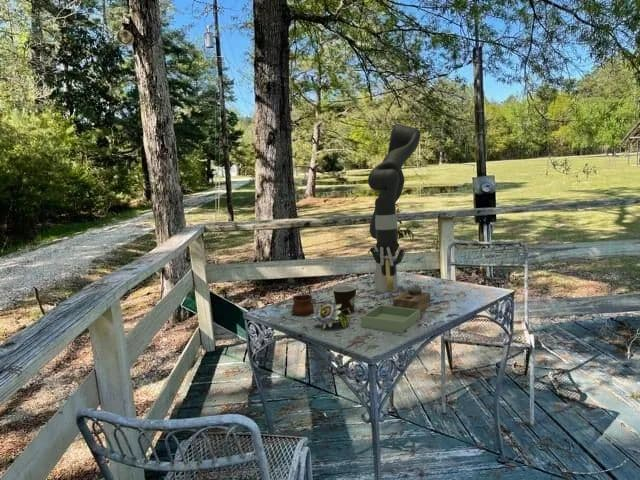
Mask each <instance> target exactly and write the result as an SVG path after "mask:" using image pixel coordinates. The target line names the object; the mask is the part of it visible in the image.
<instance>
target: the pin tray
mask: <svg viewBox="0 0 640 480" xmlns="http://www.w3.org/2000/svg"><path fill="white" fill-rule="evenodd" d="M421 315H422V314H421V313H420V310H418V309H410V308H402V307H394V306H393V305H391V306H390V305H385V304H379V305H377V306H376V307H374V308H373V309H371V310H369V311H367V312H366V313H364V314H363V315H361V316H360V321H361V323H360V324H361V328H365V329H372V330H379V331H384V332H385V331H386V332H391V333H399V334H405V333H406V332H407V330H406V329H408V328H409V327H411V326H412V325H413V324H414V323H416V322H417V321H418V320H420V319H421V318H422V316H421Z"/></svg>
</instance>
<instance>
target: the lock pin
mask: <svg viewBox="0 0 640 480" xmlns="http://www.w3.org/2000/svg"><path fill="white" fill-rule="evenodd" d="M390 266H391V265H390V260H389V258H385V273H386V289H387V290H392V289H393V276H391V275H390Z"/></svg>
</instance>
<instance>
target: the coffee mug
mask: <svg viewBox="0 0 640 480" xmlns="http://www.w3.org/2000/svg"><path fill="white" fill-rule="evenodd" d="M332 291H333V297H334V303H335V305H337V304H341V307H340V308H339V309H338V310H339V311H341V312H342V313H343V314H345V315H346V316H348V314H349V311H350V312H351V313H354V311H355V298H356V295H357V294H356V293H357V289H356V287H355V286H351V285H340V286H336V287H333V288H332ZM346 308H348V309H349V311H348V310H347V309H346ZM344 309H345V310H344ZM342 310H343V311H342ZM351 313H350V314H351ZM350 314H349V315H350Z"/></svg>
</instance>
